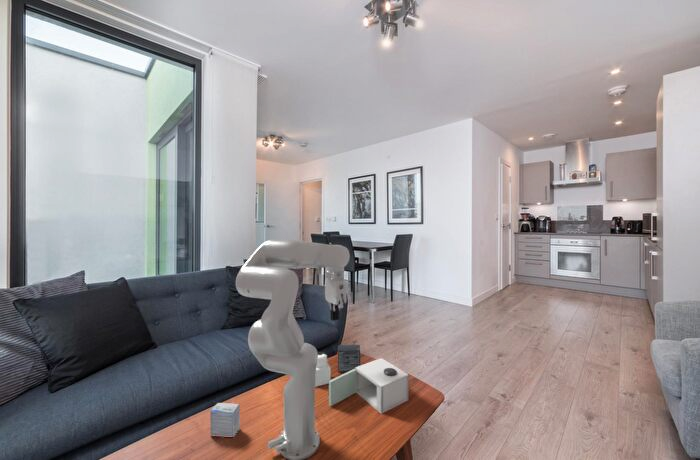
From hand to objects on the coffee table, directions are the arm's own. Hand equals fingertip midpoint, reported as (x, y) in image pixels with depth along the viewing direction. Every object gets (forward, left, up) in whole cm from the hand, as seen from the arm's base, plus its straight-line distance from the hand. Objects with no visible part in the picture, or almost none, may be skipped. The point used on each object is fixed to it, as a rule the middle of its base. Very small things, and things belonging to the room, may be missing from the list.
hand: (334, 319), depth 114 cm
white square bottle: (-2, +9, -29) cm, 31 cm away
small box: (+14, +10, -29) cm, 34 cm away
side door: (-1, -7, -29) cm, 30 cm away
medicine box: (-42, 0, -29) cm, 51 cm away
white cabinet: (+13, -14, -29) cm, 35 cm away
